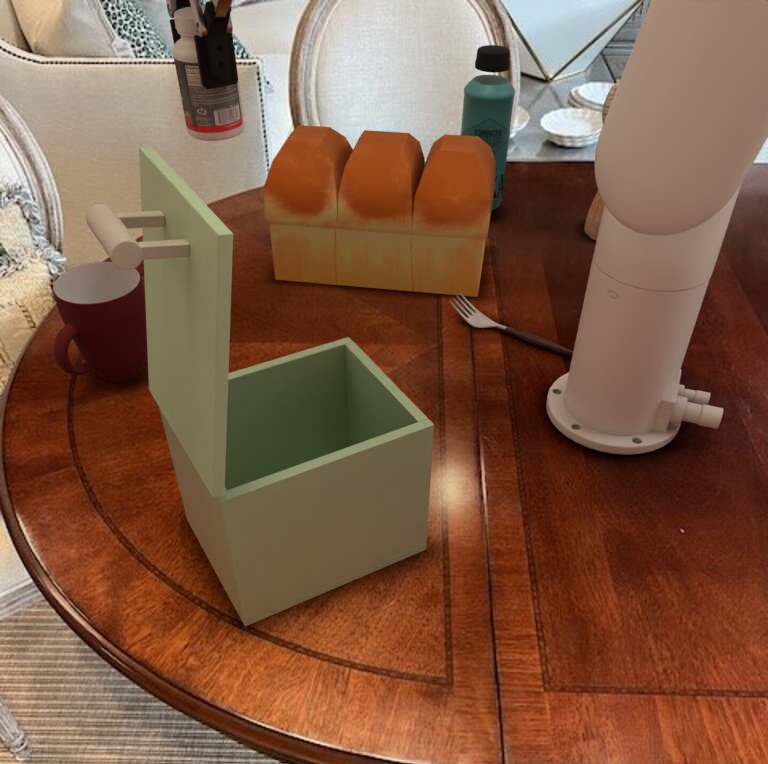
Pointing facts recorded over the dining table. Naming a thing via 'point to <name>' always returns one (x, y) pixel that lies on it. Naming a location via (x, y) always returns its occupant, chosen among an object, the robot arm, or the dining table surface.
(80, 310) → the mug
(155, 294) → the lid
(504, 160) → the beverage bottle
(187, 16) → the pill bottle
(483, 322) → the fork
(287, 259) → the bread
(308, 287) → the dining table surface
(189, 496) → the caddy
